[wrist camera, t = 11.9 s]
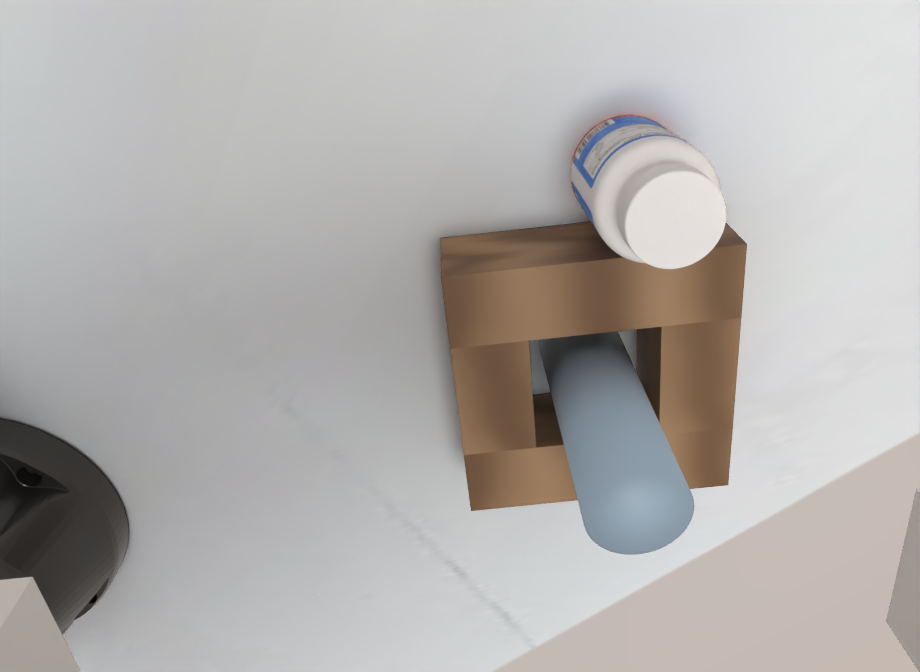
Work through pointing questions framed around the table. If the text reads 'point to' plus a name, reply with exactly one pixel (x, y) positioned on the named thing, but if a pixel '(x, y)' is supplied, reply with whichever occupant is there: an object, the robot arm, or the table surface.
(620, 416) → the peg
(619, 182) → the pill bottle
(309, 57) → the table surface
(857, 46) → the table surface
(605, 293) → the socket block
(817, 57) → the table surface
